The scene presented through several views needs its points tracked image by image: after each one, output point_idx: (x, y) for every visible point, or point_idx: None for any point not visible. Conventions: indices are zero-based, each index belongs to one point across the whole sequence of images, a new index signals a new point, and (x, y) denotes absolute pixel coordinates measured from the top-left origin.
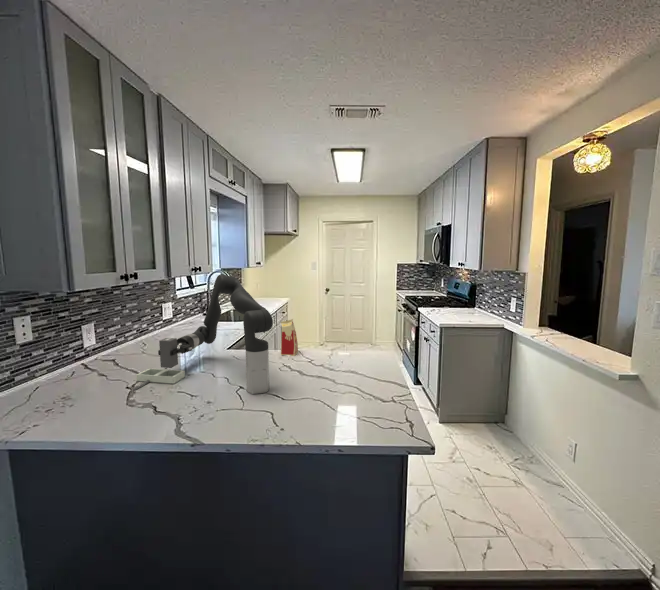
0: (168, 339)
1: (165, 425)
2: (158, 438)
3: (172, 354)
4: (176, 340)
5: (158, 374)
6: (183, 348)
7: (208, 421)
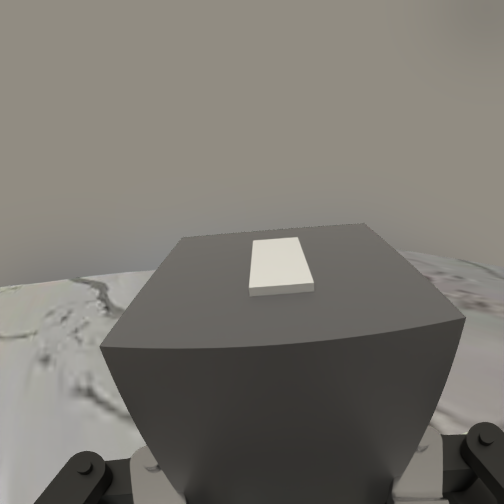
0: (251, 252)
1: (126, 293)
2: (127, 275)
3: None
4: (126, 382)
5: None
6: (69, 465)
7: (55, 307)
